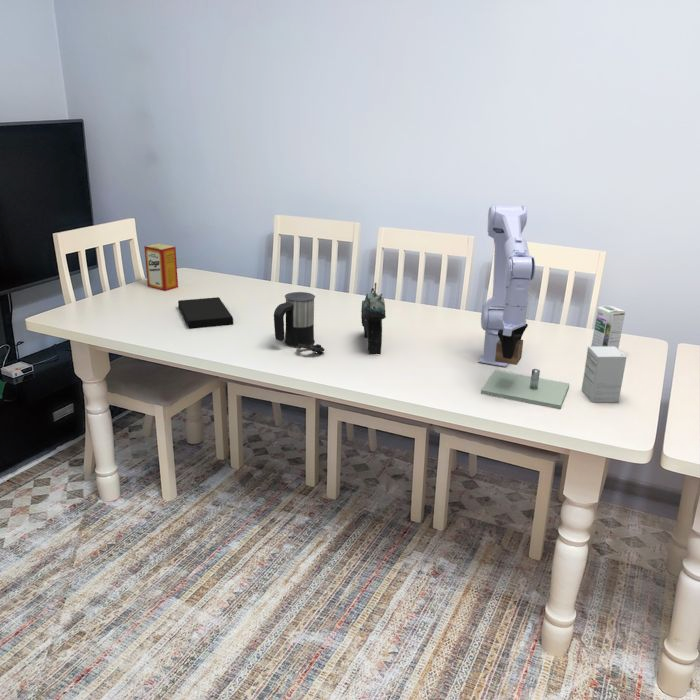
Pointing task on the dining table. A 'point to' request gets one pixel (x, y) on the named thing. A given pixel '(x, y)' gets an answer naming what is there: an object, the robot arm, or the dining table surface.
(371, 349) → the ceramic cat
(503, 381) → the sage board
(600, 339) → the syrup box
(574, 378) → the dining table surface
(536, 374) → the grey steel post
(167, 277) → the baking soda box
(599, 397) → the supplement box
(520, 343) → the walnut collar
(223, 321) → the external hard drive
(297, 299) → the milk frother
